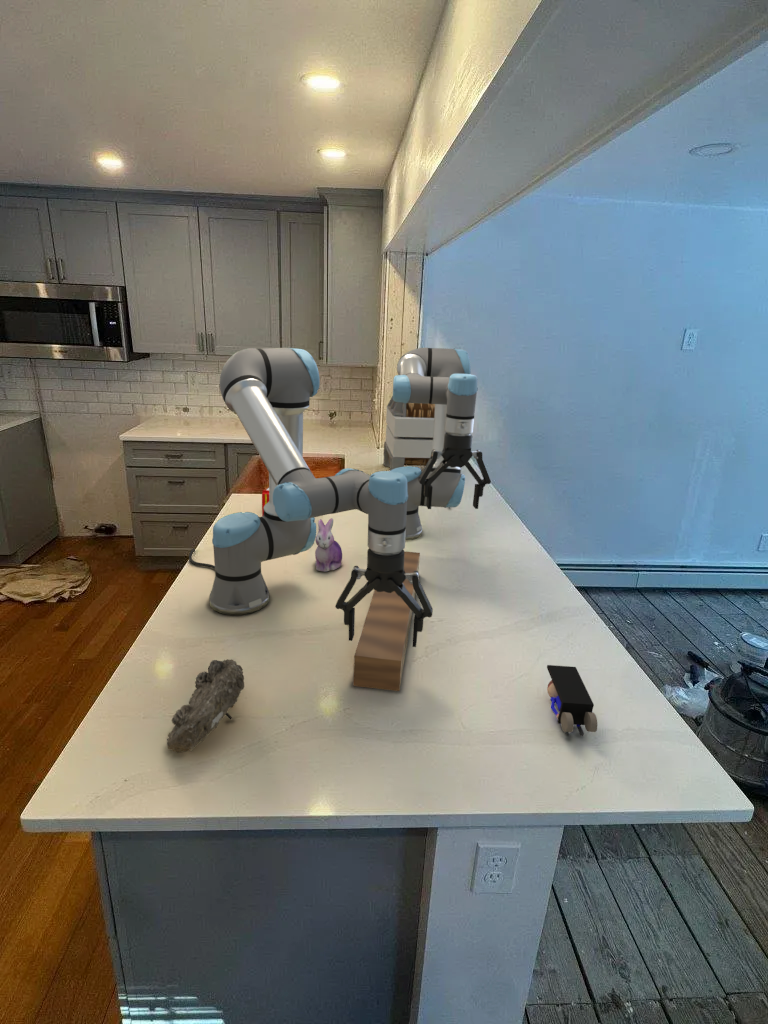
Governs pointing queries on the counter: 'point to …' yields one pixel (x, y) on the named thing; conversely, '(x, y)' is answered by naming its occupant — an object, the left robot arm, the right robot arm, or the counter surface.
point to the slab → (385, 636)
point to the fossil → (206, 705)
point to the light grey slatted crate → (408, 434)
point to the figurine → (327, 548)
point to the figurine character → (570, 699)
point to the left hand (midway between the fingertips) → (382, 640)
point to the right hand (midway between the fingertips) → (452, 507)
